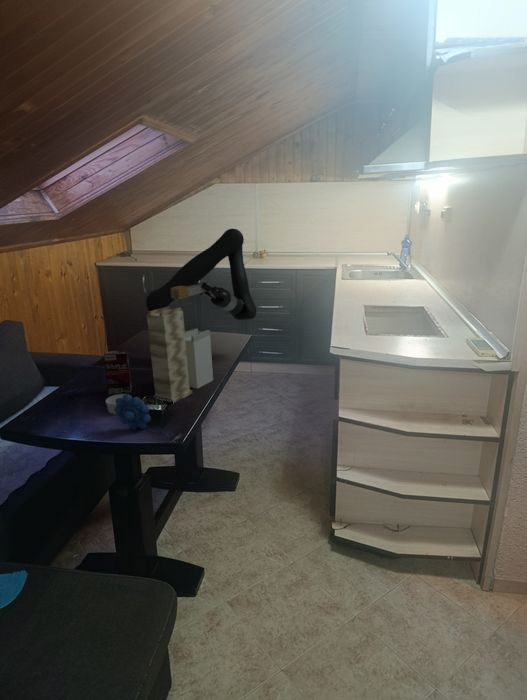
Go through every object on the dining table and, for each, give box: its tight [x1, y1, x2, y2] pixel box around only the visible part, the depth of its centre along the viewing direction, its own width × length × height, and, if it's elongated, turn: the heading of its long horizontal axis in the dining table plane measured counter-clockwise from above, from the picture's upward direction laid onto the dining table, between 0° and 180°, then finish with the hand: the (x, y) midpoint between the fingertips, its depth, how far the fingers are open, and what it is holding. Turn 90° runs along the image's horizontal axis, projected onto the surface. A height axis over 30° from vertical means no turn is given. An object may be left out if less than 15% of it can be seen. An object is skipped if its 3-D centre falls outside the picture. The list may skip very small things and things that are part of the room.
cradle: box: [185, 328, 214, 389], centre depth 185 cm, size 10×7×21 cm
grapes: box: [114, 393, 152, 430], centre depth 148 cm, size 12×7×12 cm, turn 83°
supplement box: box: [103, 349, 133, 395], centre depth 180 cm, size 9×5×16 cm, turn 101°
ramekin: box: [105, 393, 132, 415], centre depth 165 cm, size 9×9×4 cm
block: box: [171, 282, 211, 300], centre depth 176 cm, size 18×4×4 cm, turn 147°
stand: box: [146, 305, 193, 404], centre depth 171 cm, size 11×10×33 cm
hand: (199, 284), depth 180 cm, fingers closed on block, 3 cm apart
